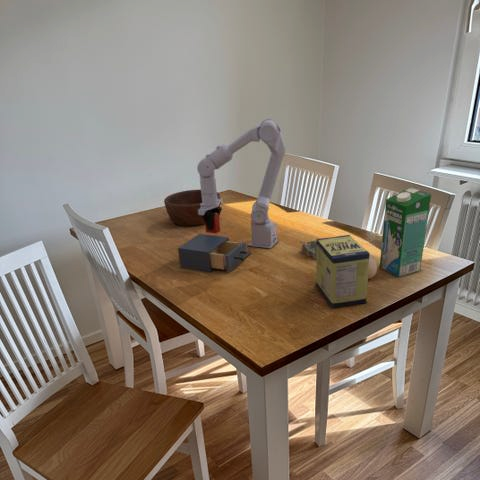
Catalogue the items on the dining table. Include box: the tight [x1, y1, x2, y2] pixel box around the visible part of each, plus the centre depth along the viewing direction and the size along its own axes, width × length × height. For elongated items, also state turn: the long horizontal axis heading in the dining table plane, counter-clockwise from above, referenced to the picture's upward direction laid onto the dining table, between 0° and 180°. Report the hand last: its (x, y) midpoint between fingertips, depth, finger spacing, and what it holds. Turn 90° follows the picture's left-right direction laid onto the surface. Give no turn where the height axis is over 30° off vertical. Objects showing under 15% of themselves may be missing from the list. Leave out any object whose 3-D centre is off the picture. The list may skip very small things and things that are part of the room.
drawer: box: [209, 240, 252, 273], centre depth 159 cm, size 15×13×6 cm
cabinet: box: [177, 233, 230, 273], centre depth 163 cm, size 12×14×7 cm
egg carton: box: [299, 239, 317, 260], centre depth 163 cm, size 11×8×4 cm
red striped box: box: [204, 213, 221, 234], centre depth 173 cm, size 5×3×8 cm, turn 63°
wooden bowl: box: [163, 189, 221, 227], centre depth 205 cm, size 25×25×10 cm
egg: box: [368, 254, 378, 280], centre depth 142 cm, size 6×6×8 cm
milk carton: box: [379, 187, 432, 278], centre depth 142 cm, size 9×9×25 cm
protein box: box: [315, 234, 371, 309], centre depth 133 cm, size 10×16×16 cm
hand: (212, 227), depth 174 cm, fingers closed on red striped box, 3 cm apart
